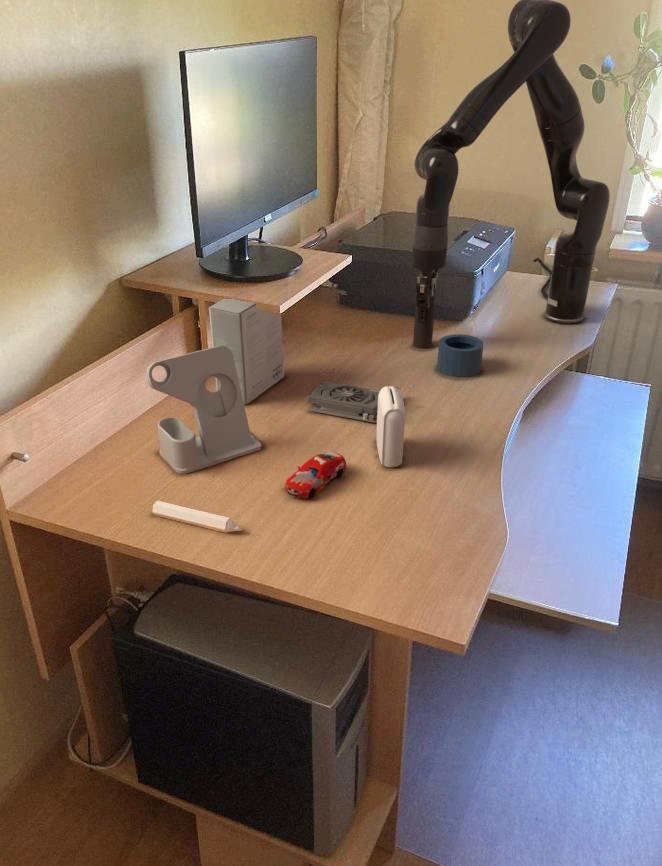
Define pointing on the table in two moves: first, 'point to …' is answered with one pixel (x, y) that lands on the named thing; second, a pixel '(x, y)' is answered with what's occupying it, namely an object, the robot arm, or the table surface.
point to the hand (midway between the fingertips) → (424, 318)
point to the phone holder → (203, 411)
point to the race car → (315, 474)
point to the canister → (424, 327)
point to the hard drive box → (249, 344)
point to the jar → (460, 355)
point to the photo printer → (390, 426)
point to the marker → (194, 517)
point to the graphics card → (345, 401)
